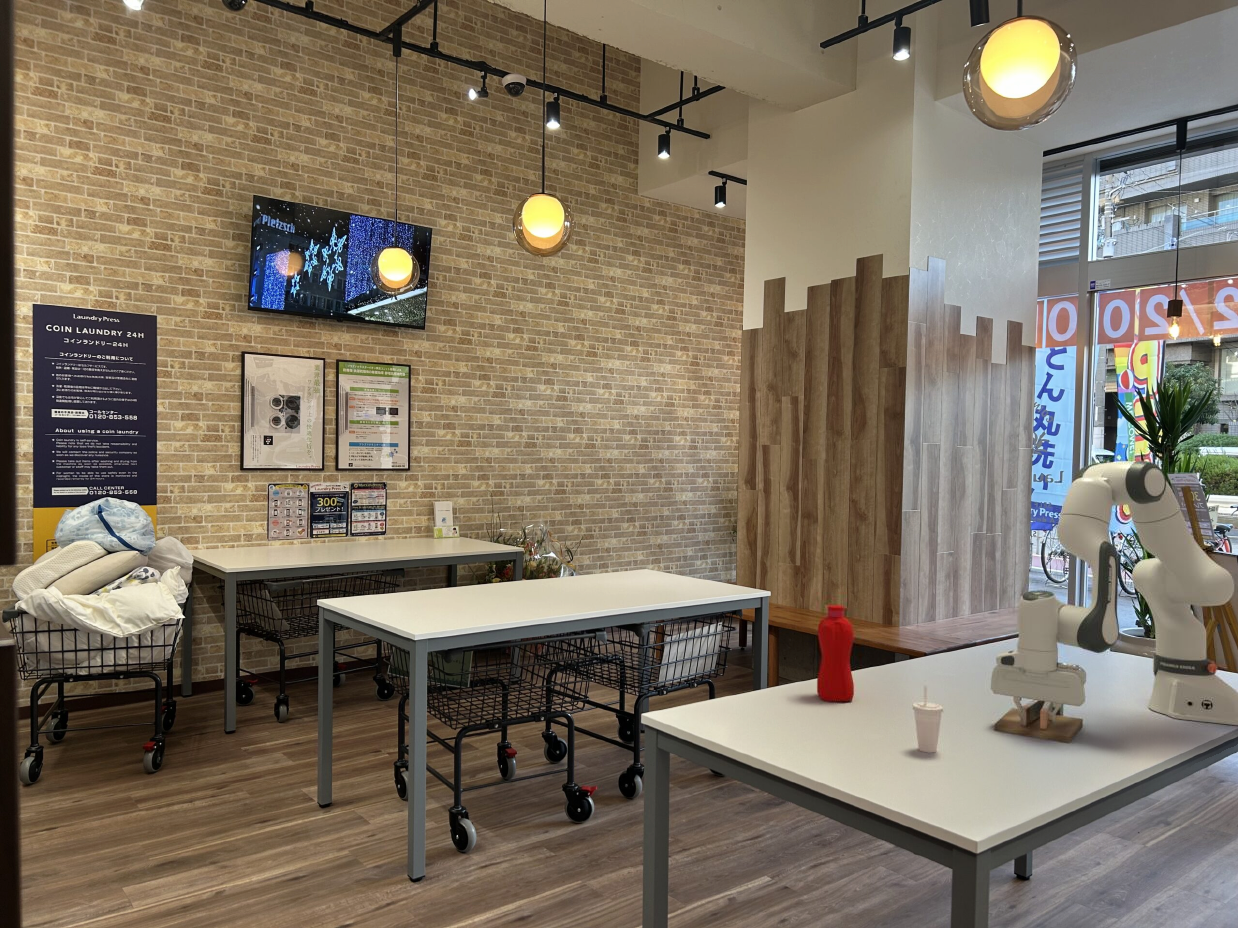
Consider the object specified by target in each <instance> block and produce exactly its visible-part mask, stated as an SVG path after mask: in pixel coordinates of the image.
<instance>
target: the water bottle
mask: <svg viewBox="0 0 1238 928" xmlns="http://www.w3.org/2000/svg"><path fill="white" fill-rule="evenodd" d="M817 627H818V628H817V637H818V643H819V648H820V652H821V661H820V666H819V671H818V675H817V681H816V683H817V684H816V693H817V695H818V698H820V699H821V700H823V701H825V702H840V703H841V702H842V703H847V702H851V701H852V700H853V699H854V697H855V696H854V695H855V683H854V678H853V673H852V670H851V664H850V660H851V659H850V658H851V655H852V649H853V648H852V647H853V643H854V638H855V634H854V632H855V631H854V627H853V625H852V623H851V621H849V619H847V618H846V617H845V606H843V605H839V604H831V605H827V616H825V617H824V618H822V619H821V620H820V622H819V624H818V626H817Z"/></svg>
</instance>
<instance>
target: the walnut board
mask: <svg viewBox="0 0 1238 928" xmlns="http://www.w3.org/2000/svg"><path fill="white" fill-rule="evenodd" d="M1018 711H1019V709H1018V708H1017V707H1012V708H1011V709H1009V710H1008V711H1007V712H1006V713H1005V714H1004V715H1003V716H1001V718H999V719H998V720H997V721H996V722H995V723H994V731H997V732H1003V733H1008V734H1014V735H1019V736H1027V737H1033V738H1036V739H1037V738H1038V739H1043V740H1050V741H1056V742H1061V743H1067V744H1070V743H1071V742H1072V740H1073V739H1074V738H1075V736H1076V735H1077V733H1078V732H1079V731H1080V729H1081V728H1082V727H1083V725H1084V720H1083V718H1079V717H1073V716H1072V717H1071V716H1067V715H1063V716H1061V715H1056V719H1055V722H1052V721H1050V722H1049V724H1048V727H1047V730H1046V729H1040V716H1039V717H1038V718H1037V719H1035V720H1034V721H1032V722H1031V723H1030V724H1029V725H1027V726H1022V725H1020V716H1019V715H1018Z"/></svg>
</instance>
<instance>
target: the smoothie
mask: <svg viewBox="0 0 1238 928" xmlns="http://www.w3.org/2000/svg"><path fill="white" fill-rule="evenodd" d="M927 693H928V686H927V685H924V686H923V701H922V702H919V701H918V702H914V703H913V704H912V710H913V713H914V719H915V728H916V729H915V730H916V738H917V746H918V747H917V748H918V750H919V751H920V752H923V753H936V752H937V748H938V742H939V734H940V727H941V722H942V721H941V720H942V714H944V707H943V706H942V705H940V704H938V703H933V702H928V698H927V697H928V696H927V695H928V694H927Z"/></svg>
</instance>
